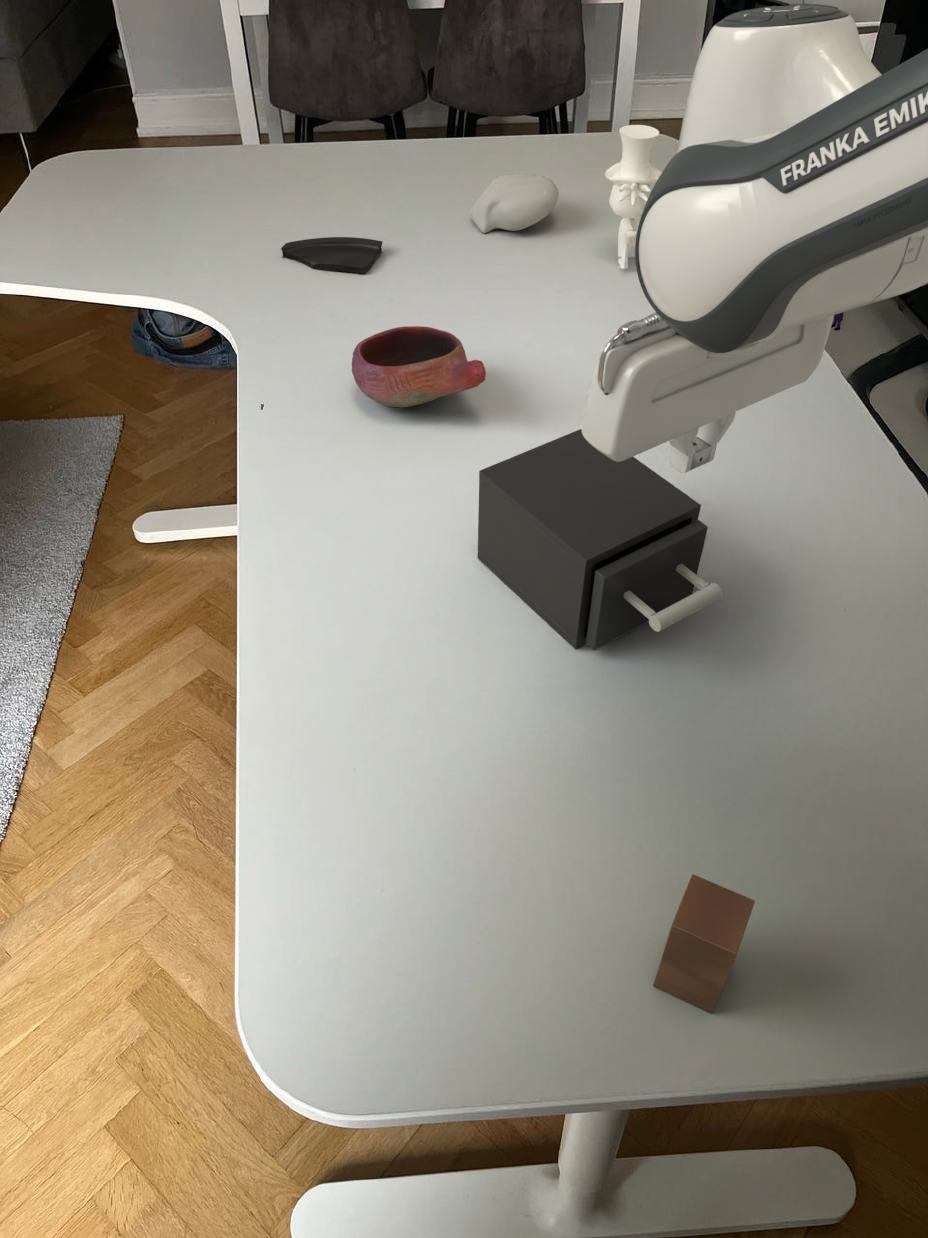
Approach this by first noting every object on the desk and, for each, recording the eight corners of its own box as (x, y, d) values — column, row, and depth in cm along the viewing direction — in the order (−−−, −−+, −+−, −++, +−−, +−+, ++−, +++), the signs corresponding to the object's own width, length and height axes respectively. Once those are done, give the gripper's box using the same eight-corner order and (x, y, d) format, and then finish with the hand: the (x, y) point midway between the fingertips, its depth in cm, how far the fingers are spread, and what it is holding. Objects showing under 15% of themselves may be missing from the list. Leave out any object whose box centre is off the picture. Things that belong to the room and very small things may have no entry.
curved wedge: (298, 239, 146) (296, 229, 145) (385, 251, 144) (384, 240, 143) (275, 263, 141) (273, 252, 139) (365, 276, 138) (364, 264, 137)
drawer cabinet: (682, 593, 92) (701, 504, 85) (575, 649, 87) (586, 560, 80) (579, 511, 101) (589, 425, 93) (477, 558, 95) (479, 470, 88)
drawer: (729, 628, 87) (749, 556, 82) (630, 684, 83) (644, 612, 77) (594, 521, 98) (603, 450, 92) (500, 564, 93) (503, 493, 87)
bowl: (341, 422, 112) (335, 358, 106) (367, 364, 121) (363, 303, 115) (482, 436, 110) (483, 372, 105) (498, 376, 119) (500, 315, 114)
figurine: (652, 283, 137) (672, 146, 124) (596, 281, 137) (611, 144, 125) (647, 250, 145) (665, 118, 132) (594, 248, 145) (608, 116, 132)
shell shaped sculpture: (562, 210, 155) (565, 167, 150) (548, 244, 146) (551, 199, 141) (481, 202, 157) (481, 159, 152) (462, 234, 148) (462, 190, 143)
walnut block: (729, 962, 66) (755, 900, 61) (711, 1014, 64) (736, 955, 58) (672, 936, 67) (692, 873, 62) (652, 986, 65) (671, 925, 59)
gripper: (639, 354, 58) (612, 536, 68) (866, 267, 67) (814, 440, 77) (571, 312, 62) (555, 490, 72) (794, 235, 71) (753, 403, 80)
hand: (690, 463), depth 74 cm, fingers closed
